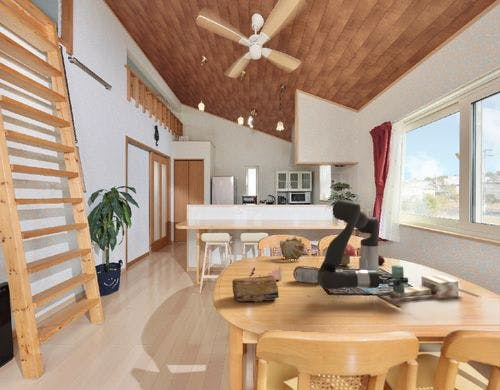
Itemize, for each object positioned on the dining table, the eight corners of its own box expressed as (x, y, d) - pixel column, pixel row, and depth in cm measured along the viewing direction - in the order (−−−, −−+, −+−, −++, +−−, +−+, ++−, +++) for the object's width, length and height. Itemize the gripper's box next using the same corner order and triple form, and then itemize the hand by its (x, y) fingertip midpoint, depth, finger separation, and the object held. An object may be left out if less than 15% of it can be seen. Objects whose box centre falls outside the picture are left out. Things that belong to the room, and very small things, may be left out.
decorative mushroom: (331, 266, 172) (330, 243, 173) (337, 262, 184) (337, 240, 184) (352, 269, 165) (352, 245, 165) (357, 264, 176) (357, 242, 176)
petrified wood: (235, 305, 109) (234, 280, 111) (231, 300, 121) (230, 278, 123) (280, 300, 113) (278, 275, 115) (272, 296, 125) (270, 274, 127)
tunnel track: (398, 307, 107) (397, 287, 107) (376, 296, 120) (376, 278, 120) (481, 299, 115) (480, 281, 115) (452, 289, 128) (452, 273, 128)
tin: (322, 283, 138) (322, 267, 138) (322, 285, 135) (322, 268, 135) (293, 280, 143) (293, 264, 143) (292, 282, 140) (292, 266, 140)
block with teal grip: (398, 299, 112) (397, 268, 112) (390, 295, 116) (388, 265, 117) (431, 295, 114) (429, 264, 115) (421, 291, 119) (420, 262, 119)
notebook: (281, 282, 141) (281, 278, 141) (249, 281, 143) (249, 277, 143) (281, 269, 168) (281, 266, 168) (255, 268, 170) (255, 265, 170)
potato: (372, 262, 183) (372, 253, 183) (385, 264, 178) (385, 255, 178) (369, 264, 178) (369, 255, 178) (383, 266, 172) (383, 257, 173)
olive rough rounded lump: (306, 235, 185) (300, 235, 200) (281, 236, 184) (277, 237, 199) (308, 261, 182) (302, 259, 197) (283, 263, 181) (279, 261, 196)
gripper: (373, 274, 107) (414, 274, 107) (357, 265, 121) (394, 265, 122) (373, 293, 107) (414, 293, 107) (357, 282, 121) (394, 281, 122)
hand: (403, 278), depth 115 cm, fingers closed on block with teal grip, 4 cm apart
